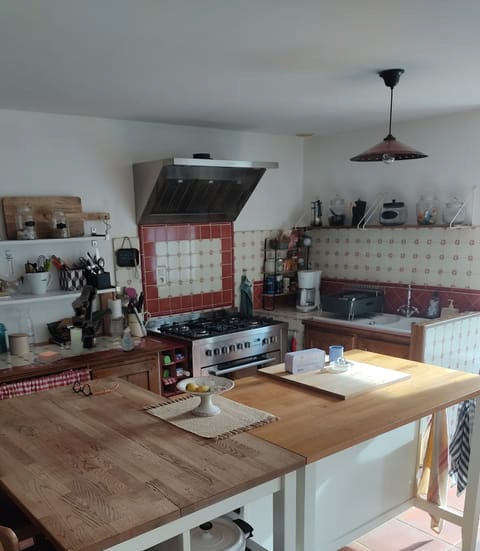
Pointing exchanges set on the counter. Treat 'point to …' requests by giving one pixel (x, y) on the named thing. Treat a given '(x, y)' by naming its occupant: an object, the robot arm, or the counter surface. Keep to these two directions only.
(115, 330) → the coffee box
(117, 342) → the toy figure
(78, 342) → the column brick
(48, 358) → the tower base
